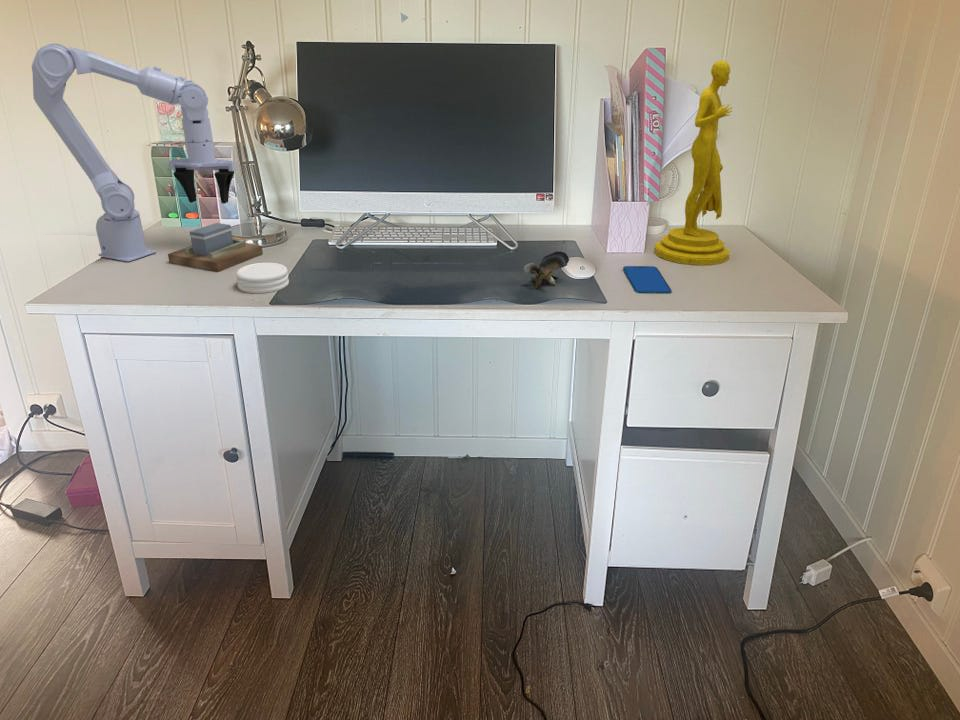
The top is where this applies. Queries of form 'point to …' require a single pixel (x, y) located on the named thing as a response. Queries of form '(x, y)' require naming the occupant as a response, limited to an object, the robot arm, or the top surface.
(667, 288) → the smartphone
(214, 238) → the blue-grey lidded box
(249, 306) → the top surface
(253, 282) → the white short ridged cylinder
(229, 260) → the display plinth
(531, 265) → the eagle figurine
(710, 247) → the statue
